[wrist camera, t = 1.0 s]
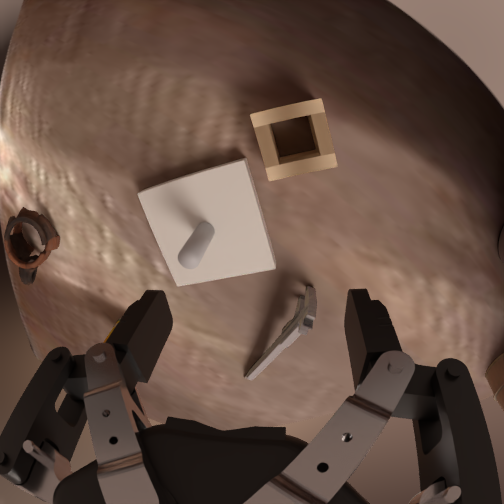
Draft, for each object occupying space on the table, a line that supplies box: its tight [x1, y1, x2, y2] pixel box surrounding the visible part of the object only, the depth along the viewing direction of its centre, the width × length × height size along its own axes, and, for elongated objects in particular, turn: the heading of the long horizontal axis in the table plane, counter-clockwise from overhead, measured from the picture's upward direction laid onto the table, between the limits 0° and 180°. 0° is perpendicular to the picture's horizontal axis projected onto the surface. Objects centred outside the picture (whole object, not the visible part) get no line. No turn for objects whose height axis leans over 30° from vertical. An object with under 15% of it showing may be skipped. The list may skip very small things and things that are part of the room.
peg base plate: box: [138, 158, 276, 286], centre depth 28 cm, size 12×12×8 cm
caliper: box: [244, 286, 317, 380], centre depth 36 cm, size 20×1×6 cm, turn 158°
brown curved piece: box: [4, 207, 60, 285], centre depth 33 cm, size 12×10×8 cm
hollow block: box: [250, 98, 337, 181], centre depth 24 cm, size 6×6×4 cm
